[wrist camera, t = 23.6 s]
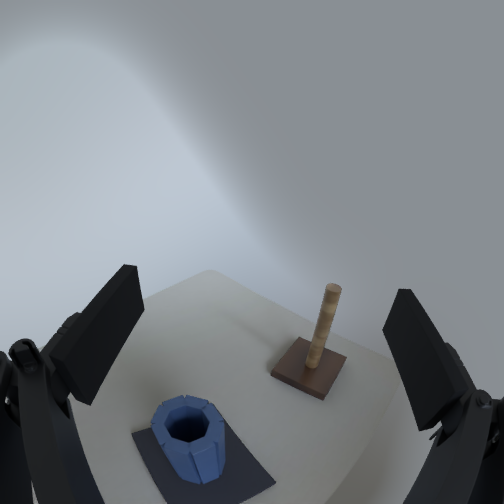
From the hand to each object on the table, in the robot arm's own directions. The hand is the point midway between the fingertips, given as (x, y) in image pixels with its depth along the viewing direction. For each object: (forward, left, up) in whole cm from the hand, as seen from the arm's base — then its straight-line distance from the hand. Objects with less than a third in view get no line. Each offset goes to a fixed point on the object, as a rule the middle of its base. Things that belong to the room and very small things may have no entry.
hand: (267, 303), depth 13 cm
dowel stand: (+8, -18, -26) cm, 32 cm away
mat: (+3, +4, -26) cm, 26 cm away
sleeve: (+3, +4, -25) cm, 25 cm away
